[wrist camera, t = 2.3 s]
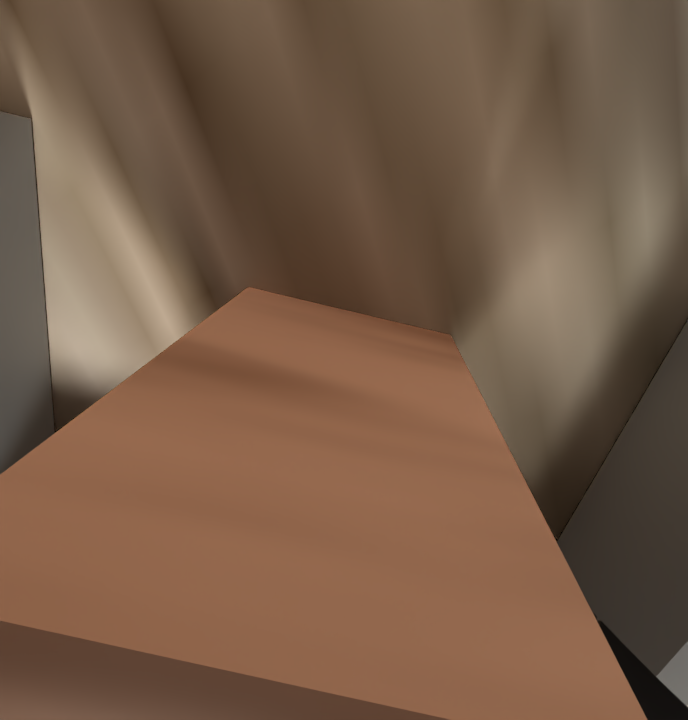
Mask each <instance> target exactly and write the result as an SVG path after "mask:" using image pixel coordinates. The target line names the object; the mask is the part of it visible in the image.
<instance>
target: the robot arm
mask: <svg viewBox="0 0 688 720" xmlns="http://www.w3.org/2000/svg"><path fill="white" fill-rule="evenodd" d="M592 612H593V611H592ZM593 614H594V612H593ZM594 616H595V618H596V620H597V616H596V615H595V614H594ZM597 622H598V624H599V626H600V628H601V630H602V632H603V634H604V636H605V638H606V640H607V642H608V644H609V646H610V648H611V650H612V651H613V653H614V655H615V657H616V659H617V661H618V663H619V665H620V667H621V669H622V671H623V673H624V675H625V677H626V679H627V681H628V683H629V685H630V687H631V689H632V691H633V693H634V695H635V696H636V698H637V700H638V702H639V704H640V706H641V708H642V710H643V712H644V714H645V716H646V718H647V720H688V707H687V706H686V705H685V704H684V703H683V702H682V701H681V700H680V699H679V698H678V697H677V696H676V695H675V694H674V693H673V692H671V691H670V690H669V689H668V688H667V687H666V686H665V685H664V684H663V683H662V682H661V681H660V680H659V679H658V678H657V677H656V676H655V675H654V674H653V673H652V672H651V671H650V670H649V669H648V668H647V667H646V666H645V665H644V664H643V663H642V662H641V661H640V660H639V659H638V658H637V657H636V656H635V655H634V654H633V653H632V652H631V651H630V650H629V649H628V648H627V647H626V646H625V645H624V644H623V643H622V642H621V641H620V640H619V638H618V637H617V636H616V635H615V634H614V633H613V632H612V631H611V630H610V629H609V628H608V627H607V626H606V625H605V624H604V623H603V622H602V621H601V620H598V621H597Z"/></svg>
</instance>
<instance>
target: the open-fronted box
mask: <svg viewBox="0 0 688 720" xmlns="http://www.w3.org/2000/svg"><path fill="white" fill-rule="evenodd" d="M54 433H55V429H54V416H53V403H52V390H51V377H50V363H49V350H48V337H47V324H46V310H45V297H44V284H43V271H42V257H41V244H40V231H39V218H38V204H37V191H36V178H35V165H34V151H33V138H32V125H31V118H27V117H22V116H18V115H14V114H10V113H6V112H2V111H0V474H2V473H3V472H4V471H6V470H7V469H8V468H9V467H11V466H12V465H13V464H15V463H16V462H17V461H19V460H20V459H21V458H23V457H24V456H25V455H27V454H28V453H29V452H31V451H32V450H33V449H35V448H36V447H37V446H39V445H40V444H41V443H43V442H44V441H45V440H46V439H48V438H49V437H50V436H52V435H53V434H54ZM557 544H558V546H559V548H560V550H561V552H562V554H563V556H564V558H565V560H566V562H567V563H568V565H569V567H570V569H571V571H572V573H573V575H574V577H575V579H576V581H577V583H578V585H579V587H580V589H581V591H582V593H583V595H584V597H585V599H586V601H587V603H588V605H589V606H590V608H591V610H592V611H593V612H594V614H595V615H596V616H597V621H598V620H601V621H602V622H603V623H604V624H605V625H606V626H607V627H608V628H609V629H610V630H611V631H612V632H613V633H614V634H615V635H616V636H617V637H618V638H619V640H620V641H621V642H622V643H623V644H624V645H625V646H626V647H627V648H628V649H629V650H630V651H631V652H632V653H633V654H634V655H635V656H636V657H637V658H638V659H639V660H640V661H641V662H642V663H643V664H644V665H645V666H646V667H647V668H648V669H649V670H650V671H651V672H652V673H653V674H654V675H655V676H656V677H657V678H658V679H659V680H660V681H661V682H662V683H663V684H664V685H665V686H666V687H667V688H668V689H669V690H670V691H671V692H673V693H674V694H675V695H676V696H677V697H678V698H679V699H680V700H681V701H682V702H683V703H684V704H685V705H686V706H687V705H688V320H687V322H686V324H685V325H684V327H683V329H682V331H681V332H680V334H679V336H678V337H677V339H676V341H675V342H674V344H673V346H672V347H671V349H670V351H669V353H668V354H667V356H666V358H665V359H664V361H663V363H662V364H661V366H660V368H659V370H658V371H657V373H656V375H655V376H654V378H653V380H652V381H651V383H650V385H649V386H648V388H647V390H646V392H645V393H644V395H643V397H642V398H641V400H640V402H639V403H638V405H637V407H636V409H635V410H634V412H633V414H632V415H631V417H630V419H629V420H628V422H627V424H626V425H625V427H624V429H623V431H622V432H621V434H620V436H619V437H618V439H617V441H616V442H615V444H614V446H613V448H612V449H611V451H610V453H609V454H608V456H607V458H606V459H605V461H604V463H603V464H602V466H601V468H600V470H599V471H598V473H597V475H596V476H595V478H594V480H593V481H592V483H591V485H590V487H589V488H588V490H587V492H586V493H585V495H584V497H583V498H582V500H581V502H580V503H579V505H578V507H577V509H576V510H575V512H574V514H573V515H572V517H571V519H570V520H569V522H568V524H567V526H566V527H565V529H564V531H563V532H562V534H561V536H560V537H559V539H558V541H557Z"/></svg>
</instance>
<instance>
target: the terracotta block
mask: <svg viewBox="0 0 688 720" xmlns="http://www.w3.org/2000/svg"><path fill="white" fill-rule="evenodd" d="M0 720H647V718H646V716H645V714H644V712H643V710H642V708H641V706H640V704H639V702H638V700H637V698H636V696H635V695H634V693H633V691H632V689H631V687H630V685H629V683H628V681H627V679H626V677H625V675H624V673H623V671H622V669H621V667H620V665H619V663H618V661H617V659H616V657H615V655H614V653H613V651H612V650H611V648H610V646H609V644H608V642H607V640H606V638H605V636H604V634H603V632H602V630H601V628H600V626H599V624H598V622H597V620H596V618H595V616H594V614H593V612H592V610H591V608H590V606H589V605H588V603H587V601H586V599H585V597H584V595H583V593H582V591H581V589H580V587H579V585H578V583H577V581H576V579H575V577H574V575H573V573H572V571H571V569H570V567H569V565H568V563H567V562H566V560H565V558H564V556H563V554H562V552H561V550H560V548H559V546H558V544H557V542H556V540H555V538H554V536H553V534H552V532H551V530H550V528H549V526H548V524H547V522H546V520H545V518H544V517H543V515H542V513H541V511H540V509H539V507H538V505H537V503H536V501H535V499H534V497H533V495H532V493H531V491H530V489H529V487H528V485H527V483H526V481H525V479H524V477H523V475H522V473H521V472H520V470H519V468H518V466H517V464H516V462H515V460H514V458H513V456H512V454H511V452H510V450H509V448H508V446H507V444H506V442H505V440H504V438H503V436H502V434H501V432H500V430H499V428H498V427H497V425H496V423H495V421H494V419H493V417H492V415H491V413H490V411H489V409H488V407H487V405H486V403H485V401H484V399H483V397H482V395H481V393H480V391H479V389H478V387H477V385H476V383H475V382H474V380H473V378H472V376H471V374H470V372H469V370H468V368H467V366H466V364H465V362H464V360H463V358H462V356H461V354H460V352H459V350H458V348H457V346H456V344H455V342H454V340H453V338H452V337H451V335H449V334H445V333H440V332H436V331H432V330H428V329H424V328H419V327H415V326H411V325H407V324H402V323H398V322H394V321H390V320H386V319H381V318H377V317H373V316H369V315H364V314H360V313H356V312H352V311H348V310H343V309H339V308H335V307H331V306H327V305H322V304H318V303H314V302H310V301H305V300H301V299H297V298H293V297H289V296H284V295H280V294H276V293H272V292H268V291H263V290H259V289H255V288H251V287H247V288H246V289H245V290H243V291H242V292H241V293H239V294H238V295H237V296H236V297H234V298H233V299H232V300H230V301H229V302H228V303H226V304H225V305H224V306H222V307H221V308H220V309H218V310H217V311H216V312H214V313H213V314H212V315H210V316H209V317H208V318H206V319H205V320H204V321H202V322H201V323H200V324H198V325H197V326H196V327H195V328H193V329H192V330H191V331H189V332H188V333H187V334H185V335H184V336H183V337H181V338H180V339H179V340H177V341H176V342H175V343H173V344H172V345H171V346H169V347H168V348H167V349H165V350H164V351H163V352H161V353H160V354H159V355H158V356H156V357H155V358H154V359H152V360H151V361H150V362H148V363H147V364H146V365H144V366H143V367H142V368H140V369H139V370H138V371H136V372H135V373H134V374H132V375H131V376H130V377H128V378H127V379H126V380H124V381H123V382H122V383H121V384H119V385H118V386H117V387H115V388H114V389H113V390H111V391H110V392H109V393H107V394H106V395H105V396H103V397H102V398H101V399H99V400H98V401H97V402H95V403H94V404H93V405H91V406H90V407H89V408H87V409H86V410H85V411H84V412H82V413H81V414H80V415H78V416H77V417H76V418H74V419H73V420H72V421H70V422H69V423H68V424H66V425H65V426H64V427H62V428H61V429H60V430H58V431H57V432H56V433H54V434H53V435H52V436H50V437H49V438H48V439H46V440H45V441H44V442H43V443H41V444H40V445H39V446H37V447H36V448H35V449H33V450H32V451H31V452H29V453H28V454H27V455H25V456H24V457H23V458H21V459H20V460H19V461H17V462H16V463H15V464H13V465H12V466H11V467H9V468H8V469H7V470H6V471H4V472H3V473H2V474H0Z"/></svg>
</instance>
